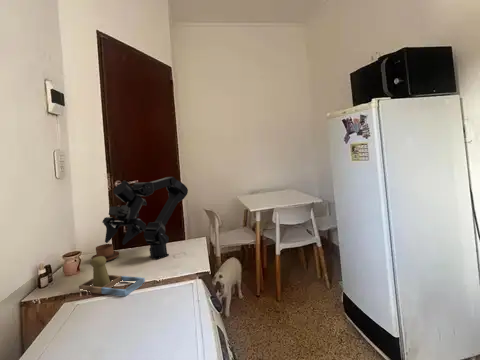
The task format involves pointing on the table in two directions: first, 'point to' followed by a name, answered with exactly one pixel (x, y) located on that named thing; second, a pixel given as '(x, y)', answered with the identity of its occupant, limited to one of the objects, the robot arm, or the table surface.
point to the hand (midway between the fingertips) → (114, 243)
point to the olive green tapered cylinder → (99, 271)
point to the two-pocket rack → (113, 291)
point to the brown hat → (106, 252)
